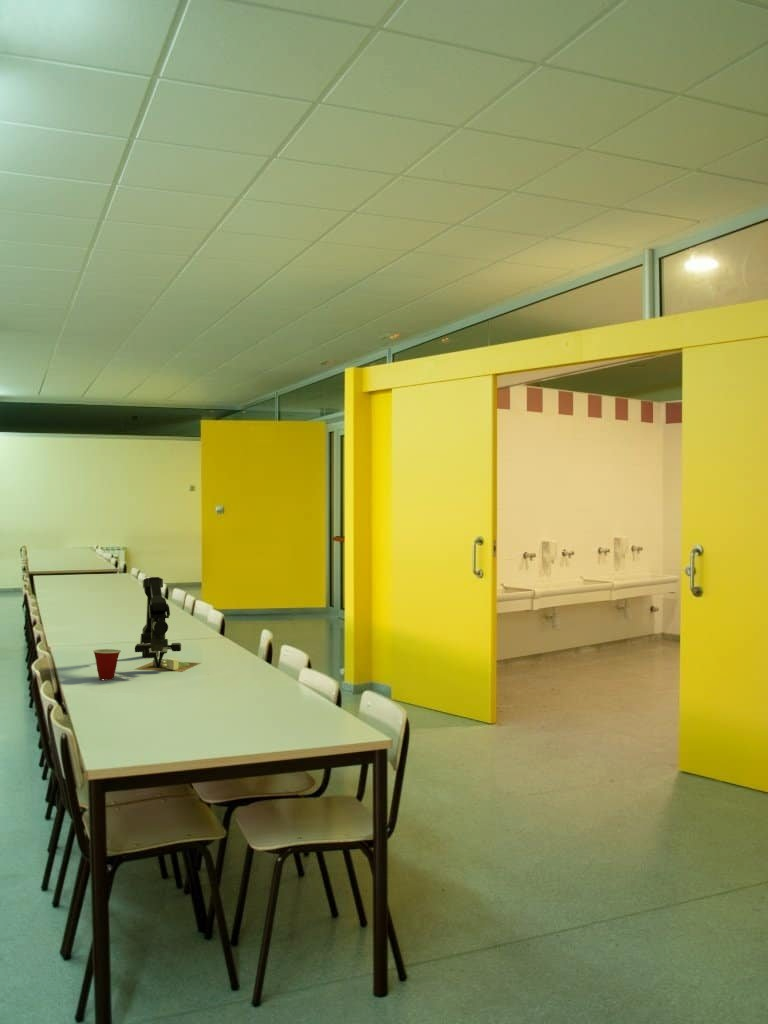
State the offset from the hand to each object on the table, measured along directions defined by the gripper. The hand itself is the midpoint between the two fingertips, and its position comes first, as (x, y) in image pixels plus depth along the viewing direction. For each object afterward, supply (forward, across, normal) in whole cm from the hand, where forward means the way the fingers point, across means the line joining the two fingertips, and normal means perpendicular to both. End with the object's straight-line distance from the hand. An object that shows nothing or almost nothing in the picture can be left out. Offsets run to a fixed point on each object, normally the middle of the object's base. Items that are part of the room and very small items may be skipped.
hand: (158, 667), depth 363 cm
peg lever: (+1, +3, +6) cm, 7 cm away
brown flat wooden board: (+3, +4, +10) cm, 11 cm away
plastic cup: (+3, -20, -7) cm, 21 cm away
